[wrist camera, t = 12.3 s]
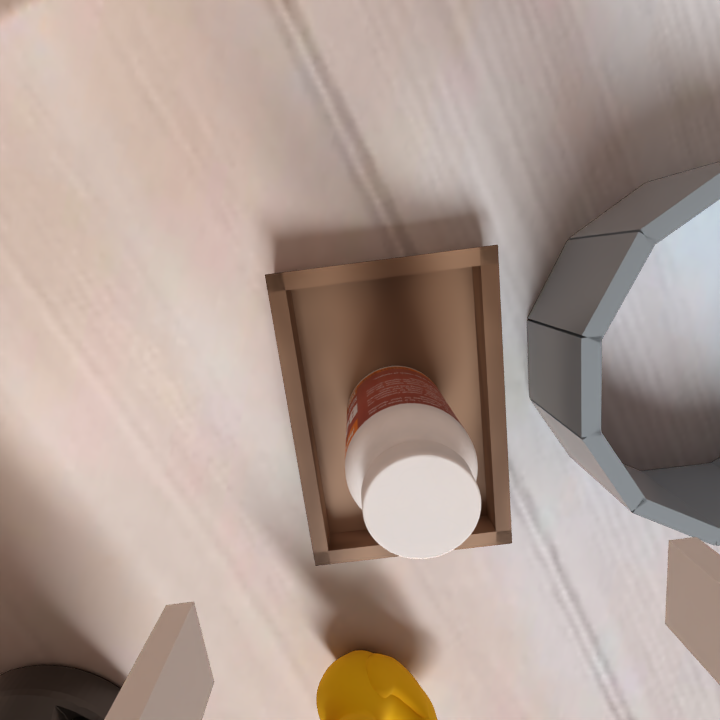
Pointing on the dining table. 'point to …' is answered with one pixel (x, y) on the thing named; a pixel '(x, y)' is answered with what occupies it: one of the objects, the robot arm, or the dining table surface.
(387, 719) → the duckling
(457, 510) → the pill bottle
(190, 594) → the dining table surface
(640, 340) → the dining table surface
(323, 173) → the dining table surface
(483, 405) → the tray
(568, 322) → the grey ringed piece
